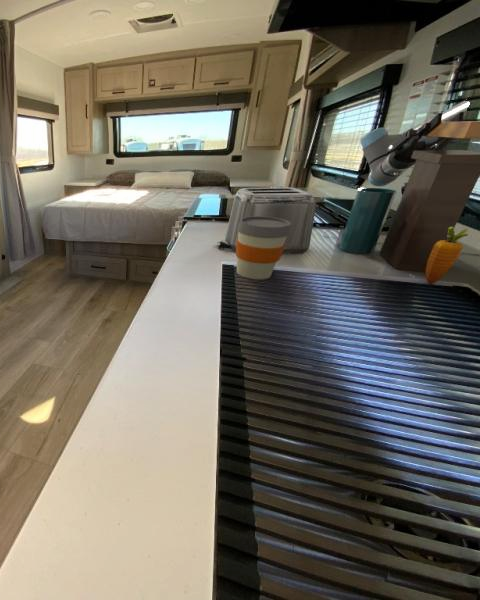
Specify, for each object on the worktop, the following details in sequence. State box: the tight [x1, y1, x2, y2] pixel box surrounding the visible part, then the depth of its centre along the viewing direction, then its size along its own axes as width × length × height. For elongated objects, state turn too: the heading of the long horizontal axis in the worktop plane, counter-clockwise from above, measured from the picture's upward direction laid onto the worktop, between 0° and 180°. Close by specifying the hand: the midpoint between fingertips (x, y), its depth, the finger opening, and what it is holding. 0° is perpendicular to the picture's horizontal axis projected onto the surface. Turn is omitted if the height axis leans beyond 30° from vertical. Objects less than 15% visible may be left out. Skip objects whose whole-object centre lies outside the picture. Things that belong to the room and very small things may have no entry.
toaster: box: [216, 187, 320, 255], centre depth 110 cm, size 17×30×19 cm, turn 81°
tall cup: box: [338, 187, 397, 256], centre depth 104 cm, size 9×9×19 cm
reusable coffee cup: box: [235, 216, 291, 280], centre depth 92 cm, size 13×13×15 cm
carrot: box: [425, 227, 469, 285], centre depth 81 cm, size 5×5×15 cm
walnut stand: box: [379, 149, 480, 273], centre depth 91 cm, size 16×10×30 cm, turn 156°
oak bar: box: [422, 120, 480, 139], centre depth 86 cm, size 24×4×4 cm, turn 157°
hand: (450, 117), depth 87 cm, fingers closed on oak bar, 3 cm apart
